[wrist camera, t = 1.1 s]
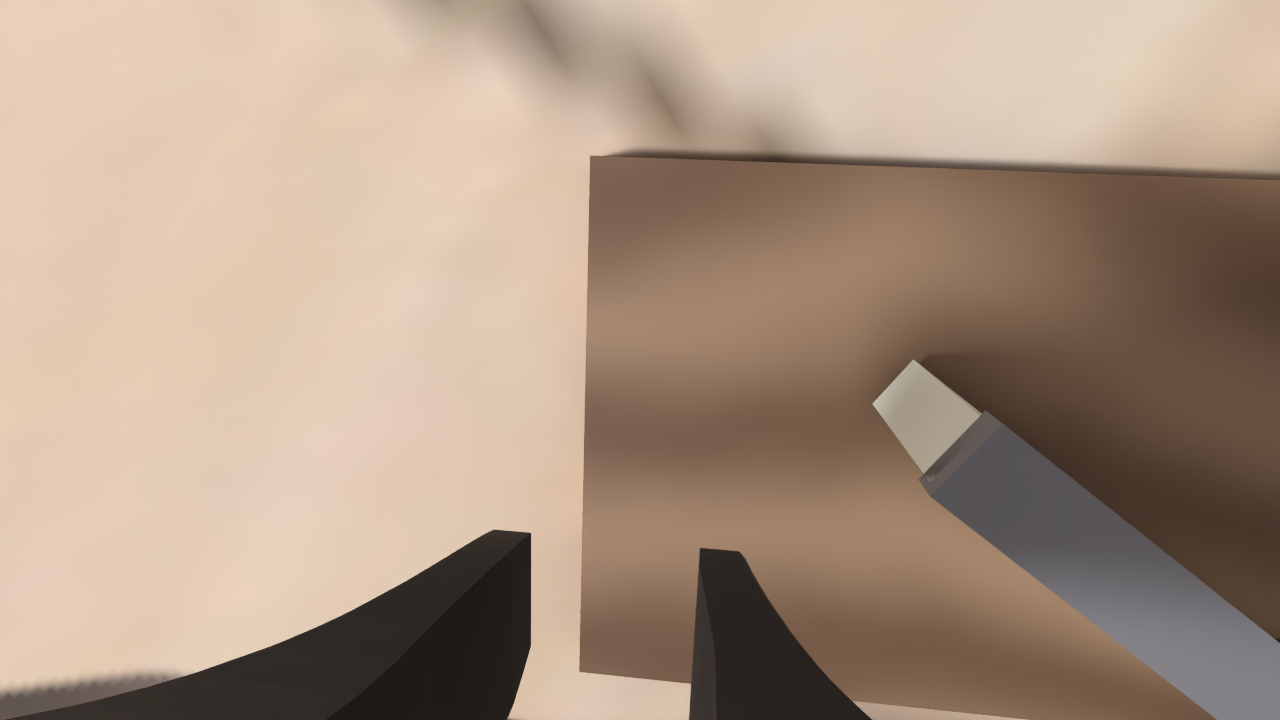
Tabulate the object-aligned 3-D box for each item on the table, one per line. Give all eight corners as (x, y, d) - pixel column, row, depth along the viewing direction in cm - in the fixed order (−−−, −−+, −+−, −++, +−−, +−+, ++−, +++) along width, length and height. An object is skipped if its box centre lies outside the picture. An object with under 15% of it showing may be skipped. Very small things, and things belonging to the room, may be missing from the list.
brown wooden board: (1343, 728, 20) (1705, 1039, 13) (585, 650, 22) (520, 878, 15) (1518, 190, 17) (2161, 188, 9) (597, 157, 19) (518, 134, 11)
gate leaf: (1266, 630, 18) (1488, 808, 13) (1210, 676, 19) (1402, 864, 13) (917, 354, 18) (1002, 423, 12) (868, 408, 18) (930, 496, 13)
